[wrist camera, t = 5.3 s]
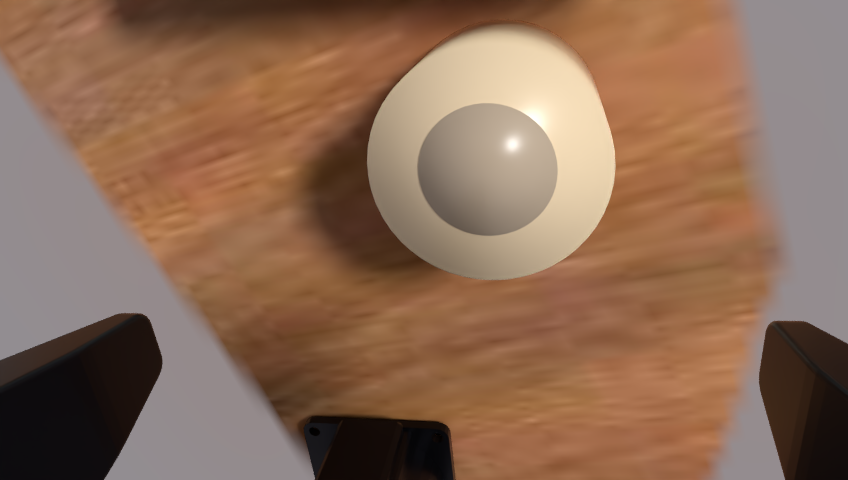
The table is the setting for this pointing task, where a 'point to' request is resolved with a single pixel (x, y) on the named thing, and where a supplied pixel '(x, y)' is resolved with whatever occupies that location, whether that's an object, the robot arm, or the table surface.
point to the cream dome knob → (493, 152)
